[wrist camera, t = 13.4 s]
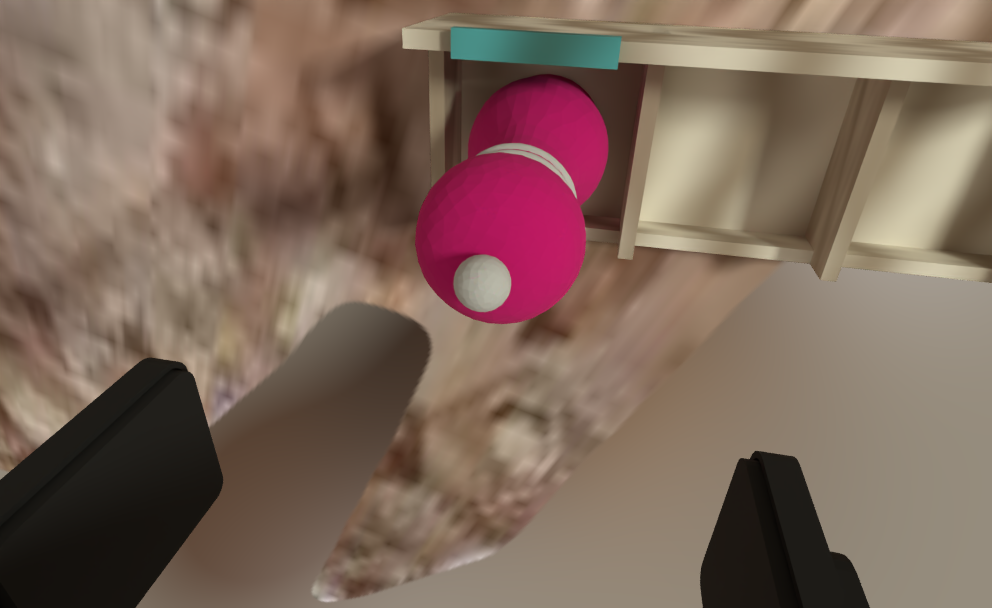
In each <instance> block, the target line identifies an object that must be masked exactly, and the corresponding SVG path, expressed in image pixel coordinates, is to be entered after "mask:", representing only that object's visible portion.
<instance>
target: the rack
mask: <svg viewBox="0 0 992 608" xmlns="http://www.w3.org/2000/svg"><path fill="white" fill-rule="evenodd" d="M402 39H403V48H404V49H420V50H428V62H429V108H430V155H431V188H432V187H433V185H434V184H435V183H436V182H437V181H438V180H439V179H440V178H441V177H442V176H443V175H444V174H445V173H446V172H447V171H448V170H449V169H451V168H452V167H454V166H456V165H457V164H459V163H461V162H463V161H464V160H466V159H468V141H469V136H470V132H471V129H472V126H473V123H474V121H475V119H476V117H477V115H478V113H479V111H480V110H481V108H482V107H483V105H484V103H485V102H486V101H487V100H488V99H489V98H490V97H491V96H492V95H493V94H494V93H495V92H496V91H498V90H499V89H500V88H502V87H504V86H505V85H507V84H509V83H511V82H513V81H516V80H520V79H523V78H528V77H531V76H535V75H540V74H553V75H559V76H562V77H565V78H568V79H570V80H572V81H574V82H575V83H577V84H578V85H580V86H581V87H582V88H583V89H584V90H585V91H586V92H587V93H588V94H589V95H590V97H591V98H592V100H593V101H594V103H595V105H596V107H597V109H598V111H599V113H600V114H601V116H602V118H603V121H604V124H605V126H606V130H607V136H608V158H607V163H606V166H605V170H604V173H603V176H602V178H601V180H600V182H599V184H598V186H597V188H596V189H595V191H594V192H593V193H592V195H591V196H590V198H589V199H587V200H586V201H585V202H584V203H583V204H582V205H581V206H580V207H581V210H582V213H583V216H584V221H585V230H586V240H588V241H598V242H607V243H617V244H618V258H621V259H630V260H632V258H633V252H634V246H635V245H636V246H645V247H655V248H665V249H674V250H684V251H693V252H703V253H712V254H722V255H731V256H741V257H750V258H760V259H769V260H779V261H788V262H798V263H807V264H810V265H811V266H812V268H813V269H814V271H815V273H816V274H817V275H818V277H819V279H820V280H825V281H834V282H836V280H837V278H838V275H839V272H840V270H841V267H846V268H856V269H865V270H874V271H884V272H893V273H904V274H913V275H923V276H932V277H941V278H951V279H960V280H969V281H979V282H989V283H992V43H991V42H973V41H954V40H936V39H918V38H900V37H882V36H864V35H846V34H828V33H810V32H791V31H773V30H755V29H737V28H719V27H701V26H683V25H665V24H646V23H628V22H610V21H592V20H574V19H556V18H538V17H520V16H502V15H483V14H465V13H449V14H446V15H442V16H439V17H436V18H433V19H430V20H427V21H424V22H420V23H417V24H414V25H411V26H408V27H405V28H402Z"/></svg>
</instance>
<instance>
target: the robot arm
mask: <svg viewBox="0 0 992 608" xmlns="http://www.w3.org/2000/svg"><path fill="white" fill-rule="evenodd" d="M222 484H223V476H222V472H221V469H220V465H219V462H218V458H217V454H216V451H215V448H214V444H213V441H212V437H211V434H210V431H209V427H208V423H207V420H206V416H205V413H204V410H203V406H202V403H201V399H200V396H199V392H198V389H197V385H196V382H195V378H194V376H193V374H191V373H190V372H188V370H187V368H186V366H185V365H184V364H183V363H181V362H176V361H170V360H163V359H157V358H146V359H144V360H142V361H140V362H139V363H138V364H137V365H135V366H134V367H133V368H132V369H131V370H129V371H128V372H127V373H126V374H125V375H124V376H122V377H121V378H120V379H119V380H118V381H116V382H115V383H114V384H113V385H112V386H111V387H109V388H108V389H107V390H106V391H105V392H103V393H102V394H101V395H100V396H99V397H98V398H96V399H95V400H94V401H93V402H92V403H90V404H89V405H88V406H87V407H86V408H85V409H83V410H82V411H81V412H80V413H79V414H77V415H76V416H75V417H74V418H73V419H72V420H70V421H69V422H68V423H67V424H66V425H64V426H63V427H62V428H61V429H60V430H59V431H57V432H56V433H55V434H54V435H53V436H51V437H50V438H49V439H48V440H47V441H46V442H44V443H43V444H42V445H41V446H40V447H39V448H37V449H36V450H35V451H34V452H33V453H31V454H30V455H29V456H28V457H27V458H26V459H24V460H23V461H22V462H21V463H20V464H18V465H17V466H16V467H15V468H14V469H13V470H11V471H10V472H9V473H8V474H7V475H5V476H4V477H3V478H2V479H1V480H0V608H136V606H137V605H138V604H139V602H140V601H141V600H142V598H143V597H144V596H145V594H146V593H147V591H148V590H149V589H150V587H151V586H152V585H153V583H154V582H155V581H156V579H157V578H158V577H159V575H160V574H161V573H162V571H163V570H164V569H165V567H166V566H167V565H168V563H169V562H170V561H171V559H172V558H173V556H174V555H175V554H176V553H177V551H178V550H179V548H180V547H181V546H182V544H183V543H184V542H185V540H186V539H187V538H188V536H189V535H190V534H191V532H192V531H193V530H194V528H195V527H196V526H197V524H198V523H199V522H200V520H201V519H202V517H203V516H204V515H205V513H206V512H207V511H208V510H209V508H210V507H211V505H212V504H213V502H214V501H215V500H216V499H217V497H218V496H219V494H220V491H221V489H222ZM700 586H701V596H702V604H703V608H870V607H869V604H868V602H867V599H866V596H865V594H864V591H863V588H862V586H861V583H860V580H859V578H858V575H857V573H856V571H855V569H854V567H853V565H852V563H851V561H850V560H849V559H848V558H847V557H846V556H845V555H843V554H840V553H835V552H830V551H829V548H828V545H827V542H826V539H825V537H824V533H823V530H822V527H821V525H820V522H819V519H818V516H817V513H816V510H815V507H814V504H813V502H812V499H811V496H810V493H809V490H808V487H807V484H806V481H805V478H804V475H803V473H802V470H801V467H800V464H799V462H798V460H797V459H796V458H795V457H793V456H787V455H780V454H774V453H767V452H761V451H755V452H754V453H753V454H752V456H751V458H750V459H744V458H741V459H740V460H739V461H738V463H737V466H736V469H735V472H734V475H733V477H732V480H731V483H730V486H729V489H728V492H727V494H726V497H725V500H724V503H723V506H722V509H721V511H720V514H719V517H718V520H717V523H716V526H715V528H714V532H713V535H712V537H711V540H710V543H709V545H708V548H707V551H706V554H705V557H704V560H703V563H702V567H701V575H700Z"/></svg>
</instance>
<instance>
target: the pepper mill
mask: <svg viewBox="0 0 992 608" xmlns="http://www.w3.org/2000/svg"><path fill="white" fill-rule="evenodd" d="M607 158H608V136H607V130H606V126H605V124H604V121H603V118H602V116H601V114H600V113H599V111H598V109H597V107H596V105H595V103H594V101H593V100H592V98H591V97H590V95H589V94H588V93H587V92H586V91H585V90H584V89H583V88H582V87H581V86H580V85H578V84H577V83H575V82H574V81H572V80H570V79H568V78H565V77H562V76H559V75H553V74H540V75H535V76H531V77H528V78H523V79H520V80H516V81H513V82H511V83H509V84H507V85H505V86H504V87H502V88H500V89H499V90H498V91H496V92H495V93H494V94H493V95H492V96H491V97H490V98H489V99H488V100H487V101H486V102H485V103H484V105H483V107H482V108H481V110H480V111H479V113H478V115H477V117H476V119H475V121H474V123H473V126H472V129H471V132H470V136H469V141H468V159H466V160H464V161H463V162H461V163H459V164H457V165H456V166H454V167H452V168H451V169H449V170H448V171H447V172H446V173H445V174H444V175H443V176H442V177H441V178H440V179H439V180H438V181H437V182H436V183H435V184H434V185H433V187H432V188H431V189H430V191H429V193H428V195H427V197H426V198H425V200H424V202H423V204H422V207H421V209H420V212H419V216H418V221H417V227H416V240H415V246H416V251H417V257H418V262H419V265H420V267H421V270H422V273H423V275H424V277H425V279H426V281H427V282H428V284H429V285H430V287H431V288H432V289H433V290H434V292H435V293H436V294H437V295H438V296H439V297H440V298H441V299H442V300H443V301H444V302H445V303H447V304H448V305H449V306H450V307H452V308H453V309H455V310H456V311H458V312H460V313H461V314H463V315H465V316H468V317H470V318H472V319H474V320H478V321H482V322H486V323H495V324H508V323H517V322H521V321H525V320H528V319H532V318H533V317H535V316H537V315H539V314H541V313H543V312H545V311H547V310H548V309H550V308H551V307H552V306H553V305H554V304H556V303H557V302H558V301H559V300H560V299H561V298H562V297H563V296H564V295H565V294H566V293H567V292H568V290H569V289H570V287H571V286H572V284H573V283H574V281H575V279H576V278H577V276H578V274H579V271H580V268H581V266H582V263H583V259H584V255H585V245H586V230H585V221H584V216H583V213H582V210H581V207H580V206H581V205H582V204H583V203H584V202H585V201H586V200H587V199H589V198H590V196H591V195H592V193H593V192H594V191H595V189H596V188H597V186H598V184H599V182H600V180H601V178H602V176H603V173H604V170H605V166H606V163H607Z"/></svg>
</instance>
